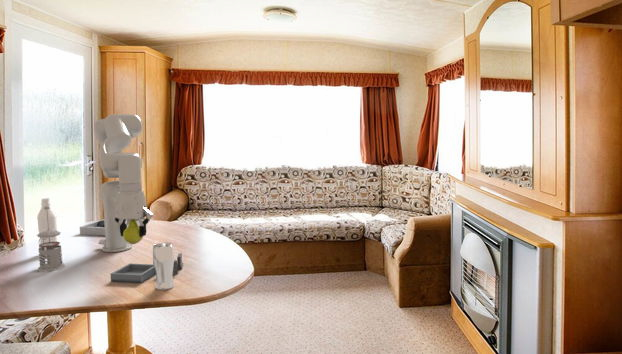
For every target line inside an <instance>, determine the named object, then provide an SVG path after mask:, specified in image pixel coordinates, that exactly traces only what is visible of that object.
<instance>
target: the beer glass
mask: <svg viewBox="0 0 622 354" xmlns="http://www.w3.org/2000/svg"><path fill="white" fill-rule="evenodd" d="M174 260H175V250H174V244H173V243H172V242H158V243H155V244H153V245H152V262H153V263H152V264H154V268H155V272H156V274H155V276H156V277H155V278H156V282H155V289H156V290H159V291H166V290H170V289H172V288H174V287H175V283H174V279H173V278H174V276H172V273H173V266H174Z"/></svg>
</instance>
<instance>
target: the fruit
mask: <svg viewBox="0 0 622 354" xmlns="http://www.w3.org/2000/svg"><path fill="white" fill-rule="evenodd" d="M123 237H124V239H125V240H126V241H127V242H128V243H130V244H132V245H136V244H138V243H139V242H141V241H142V240H143V238H144V236H143V237H140V234H139V226H138V224H137V222H136V220H131V221H130V223H129V226H128V227H127V228H126V229H125V230H124V232H123Z"/></svg>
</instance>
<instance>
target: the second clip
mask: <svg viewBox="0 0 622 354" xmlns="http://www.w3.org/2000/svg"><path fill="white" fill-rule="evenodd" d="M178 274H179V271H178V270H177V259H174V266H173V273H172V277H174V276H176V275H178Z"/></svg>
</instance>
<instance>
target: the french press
mask: <svg viewBox="0 0 622 354" xmlns="http://www.w3.org/2000/svg"><path fill="white" fill-rule="evenodd" d="M44 209H50V208H49V206H46V207H44ZM47 221H48V212H47ZM60 235H61V232H60V231H58V230H57V231H56V230H49V225H48V230H46V231H43V232H41V233H39V232H38V234H37V235H36V237H38V238H39V239H38V247H39V248H38V259H39V260H38V261H39V266H38V268H37V269H36V270H37V271H38V272H52V271H57V270H61V269H63V268H65V267H66V264H64V263H63V252H62V246H61V245H60V244H61V242H60V241H57V242H53V241H52V242H50V238H49V242H48V243H44V240H46V239H47V237H54V236H57V237H58V236H60ZM41 237H42V238H46V239H42V240H43V243H42V244H40V238H41ZM40 247H41V248H40ZM45 247H46V250H45ZM55 248H57V249H55Z"/></svg>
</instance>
